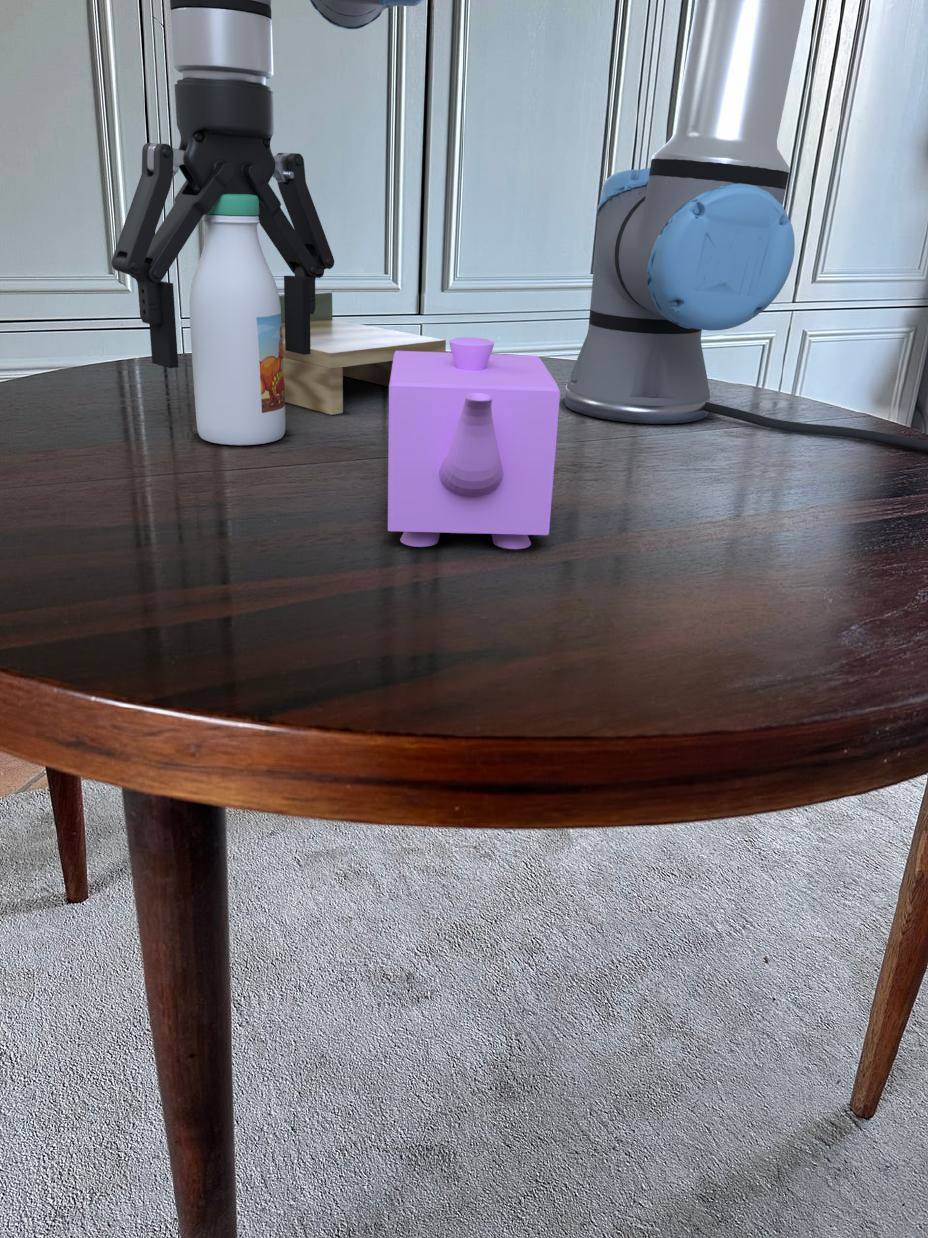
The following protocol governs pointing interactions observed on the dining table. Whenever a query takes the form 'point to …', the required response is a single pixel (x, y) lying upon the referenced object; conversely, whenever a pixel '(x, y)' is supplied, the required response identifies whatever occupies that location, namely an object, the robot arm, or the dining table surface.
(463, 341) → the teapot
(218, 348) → the milk bottle
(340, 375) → the shelf
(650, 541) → the dining table surface
